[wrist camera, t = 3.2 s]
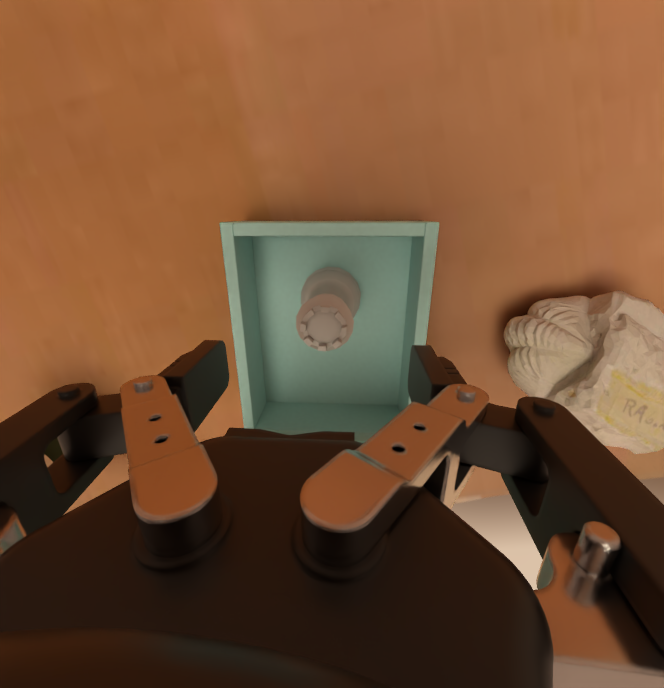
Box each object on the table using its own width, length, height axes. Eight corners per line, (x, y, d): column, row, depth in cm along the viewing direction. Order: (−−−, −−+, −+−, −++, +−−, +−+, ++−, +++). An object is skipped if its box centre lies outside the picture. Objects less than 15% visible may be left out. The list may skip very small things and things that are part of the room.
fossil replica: (504, 273, 25) (474, 384, 29) (557, 313, 17) (505, 454, 22) (681, 284, 23) (621, 399, 28) (820, 332, 16) (708, 478, 20)
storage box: (243, 220, 24) (218, 222, 20) (422, 220, 23) (439, 222, 19) (260, 404, 30) (244, 437, 25) (405, 407, 29) (415, 443, 25)
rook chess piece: (371, 306, 25) (379, 345, 18) (320, 332, 26) (309, 380, 19) (342, 254, 24) (339, 272, 16) (291, 283, 25) (265, 313, 17)
